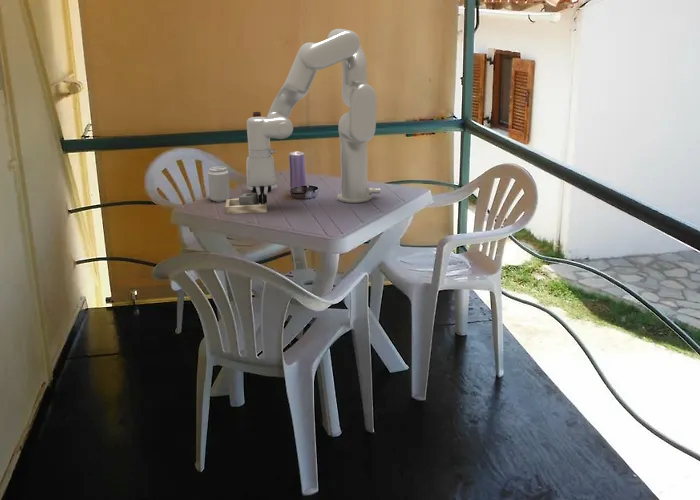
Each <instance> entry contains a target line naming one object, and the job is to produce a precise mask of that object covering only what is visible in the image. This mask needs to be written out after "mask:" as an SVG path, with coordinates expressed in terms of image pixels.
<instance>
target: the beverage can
mask: <svg viewBox="0 0 700 500" xmlns="http://www.w3.org/2000/svg"><path fill="white" fill-rule="evenodd" d="M288 165H289V166H288V167H289V189H290V190H289V191H290V192H291V189H292V188H294V187H299V186H306V187H307V179H306V178H307V176H306V155H305V152H303V151H291V152H289V155H288Z"/></svg>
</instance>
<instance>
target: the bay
mask: <svg viewBox="0 0 700 500" xmlns="http://www.w3.org/2000/svg"><path fill="white" fill-rule="evenodd" d="M262 199H263V197H262ZM258 202H259V200H258ZM224 205H225V206H224V208H225V209H224V210H225V213H224V214H225V215H233V214H235V215H236V214H237V215H238V214H256V213H258V214H259V213H268V208H267V207H268V202H267V203H265V204H263V205H261V203H259V205H240V204H239V198H229V199H226V201H225V204H224Z"/></svg>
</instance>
